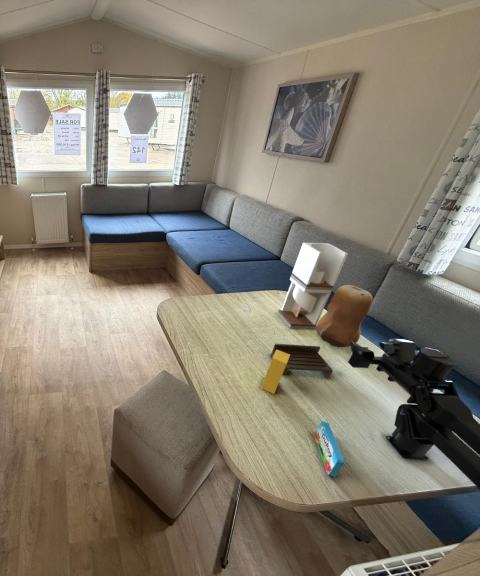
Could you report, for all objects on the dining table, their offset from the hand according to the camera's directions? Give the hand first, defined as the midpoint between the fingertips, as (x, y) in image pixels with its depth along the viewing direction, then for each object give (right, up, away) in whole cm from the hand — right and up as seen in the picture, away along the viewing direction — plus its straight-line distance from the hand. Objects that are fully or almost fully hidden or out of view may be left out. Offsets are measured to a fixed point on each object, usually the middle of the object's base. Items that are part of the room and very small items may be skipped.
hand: (365, 342), depth 99 cm
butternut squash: (+10, -5, +27) cm, 29 cm away
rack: (-13, -11, +13) cm, 22 cm away
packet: (-28, -16, +4) cm, 33 cm away
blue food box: (-26, -27, -17) cm, 41 cm away
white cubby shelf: (+4, +2, +40) cm, 40 cm away
